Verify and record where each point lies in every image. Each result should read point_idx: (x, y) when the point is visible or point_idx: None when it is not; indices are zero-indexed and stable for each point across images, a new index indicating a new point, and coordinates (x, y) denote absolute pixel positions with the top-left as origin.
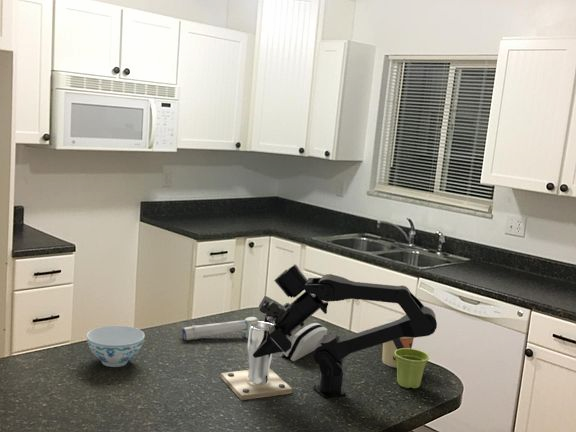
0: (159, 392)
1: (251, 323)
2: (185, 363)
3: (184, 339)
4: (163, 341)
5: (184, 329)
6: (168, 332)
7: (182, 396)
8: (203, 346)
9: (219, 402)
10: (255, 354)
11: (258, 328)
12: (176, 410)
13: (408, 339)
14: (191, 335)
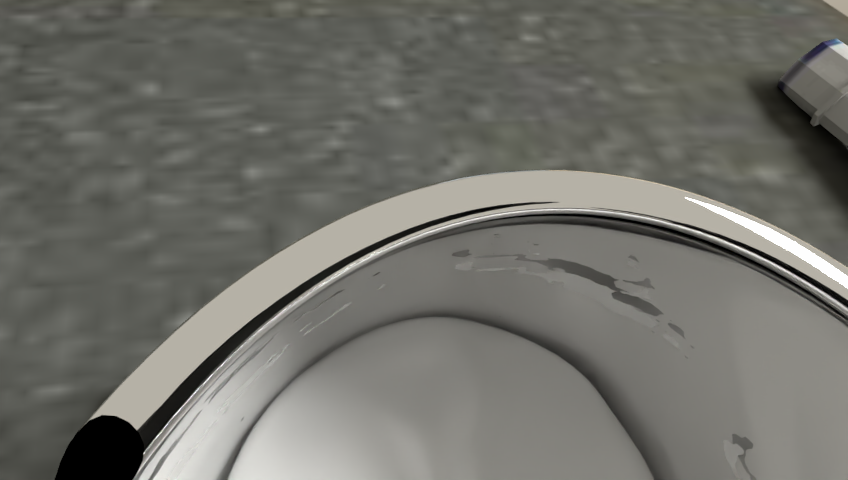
0: (235, 15)
1: (730, 213)
2: (559, 95)
3: (779, 80)
4: (726, 25)
5: (828, 46)
6: (814, 38)
7: (193, 92)
8: (769, 156)
9: (110, 258)
10: None
11: (808, 474)
12: (26, 73)
13: None
14: (815, 90)
